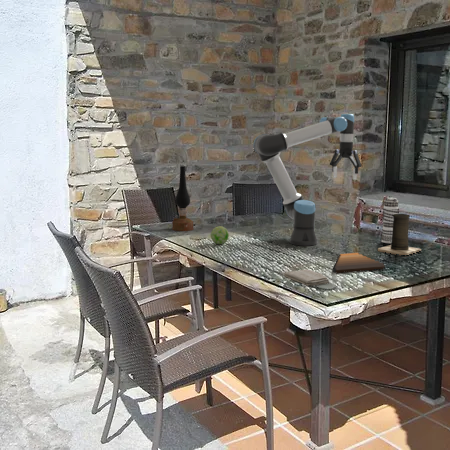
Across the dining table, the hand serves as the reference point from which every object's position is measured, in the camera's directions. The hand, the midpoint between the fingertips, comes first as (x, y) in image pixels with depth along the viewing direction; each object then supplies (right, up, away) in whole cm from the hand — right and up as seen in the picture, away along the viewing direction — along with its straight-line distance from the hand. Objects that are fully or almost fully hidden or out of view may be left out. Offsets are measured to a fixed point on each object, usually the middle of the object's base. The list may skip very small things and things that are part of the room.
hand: (344, 178), depth 330 cm
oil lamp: (-96, -30, +27) cm, 104 cm away
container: (+23, -39, -30) cm, 54 cm away
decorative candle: (+24, -37, -5) cm, 44 cm away
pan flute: (-12, -46, -60) cm, 77 cm away
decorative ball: (-72, -38, -16) cm, 83 cm away
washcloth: (-34, -51, -86) cm, 106 cm away
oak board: (+23, -41, -30) cm, 55 cm away
